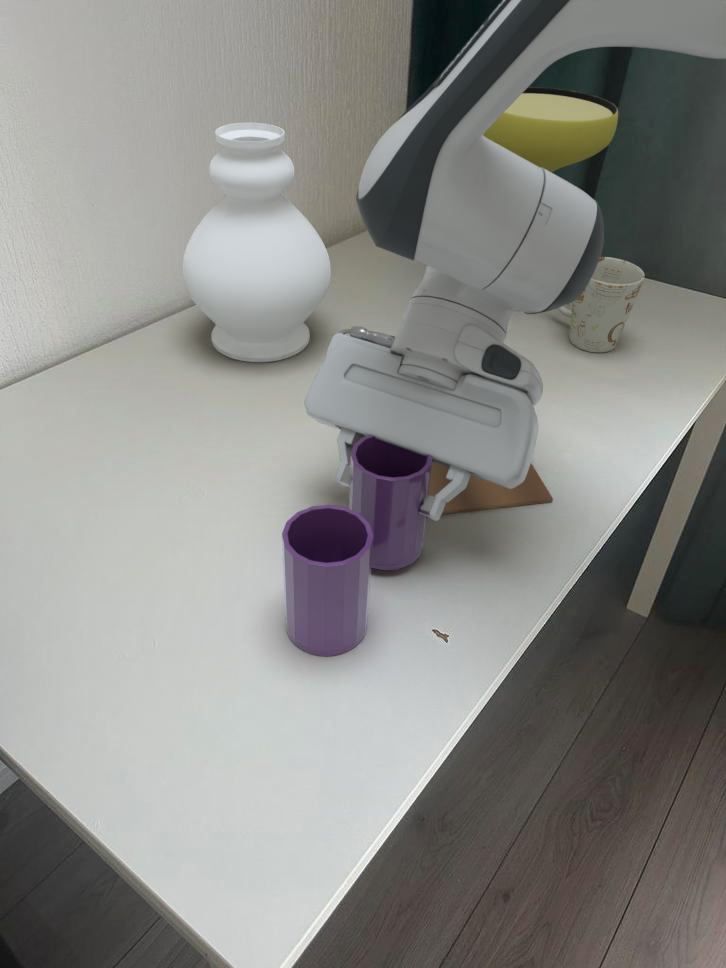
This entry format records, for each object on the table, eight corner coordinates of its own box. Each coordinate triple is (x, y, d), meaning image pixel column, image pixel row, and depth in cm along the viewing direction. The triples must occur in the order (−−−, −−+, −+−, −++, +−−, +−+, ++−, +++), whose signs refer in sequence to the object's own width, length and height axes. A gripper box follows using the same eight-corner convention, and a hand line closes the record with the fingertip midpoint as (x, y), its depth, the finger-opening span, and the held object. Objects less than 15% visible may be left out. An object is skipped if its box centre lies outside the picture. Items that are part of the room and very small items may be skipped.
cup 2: (412, 515, 72) (420, 428, 66) (430, 565, 67) (441, 475, 61) (342, 523, 71) (344, 435, 65) (356, 574, 66) (360, 484, 60)
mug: (599, 364, 98) (619, 290, 91) (522, 326, 105) (536, 256, 98) (637, 344, 102) (658, 273, 96) (560, 310, 109) (575, 241, 103)
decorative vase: (224, 298, 108) (208, 104, 92) (346, 318, 105) (351, 120, 89) (166, 359, 95) (135, 144, 79) (303, 384, 91) (300, 165, 75)
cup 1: (358, 589, 66) (362, 500, 60) (374, 650, 61) (381, 560, 55) (281, 599, 65) (277, 509, 59) (291, 661, 60) (288, 571, 54)
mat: (498, 412, 88) (499, 409, 88) (552, 502, 76) (553, 499, 76) (361, 423, 85) (361, 420, 85) (394, 519, 73) (395, 516, 73)
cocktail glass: (444, 300, 110) (465, 111, 94) (468, 253, 124) (490, 81, 108) (572, 322, 106) (616, 128, 91) (582, 271, 120) (623, 95, 104)
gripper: (327, 307, 67) (267, 455, 66) (554, 372, 60) (490, 539, 59) (351, 333, 73) (297, 469, 72) (561, 395, 65) (503, 547, 65)
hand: (385, 501), depth 65 cm, fingers closed on cup 2, 6 cm apart
